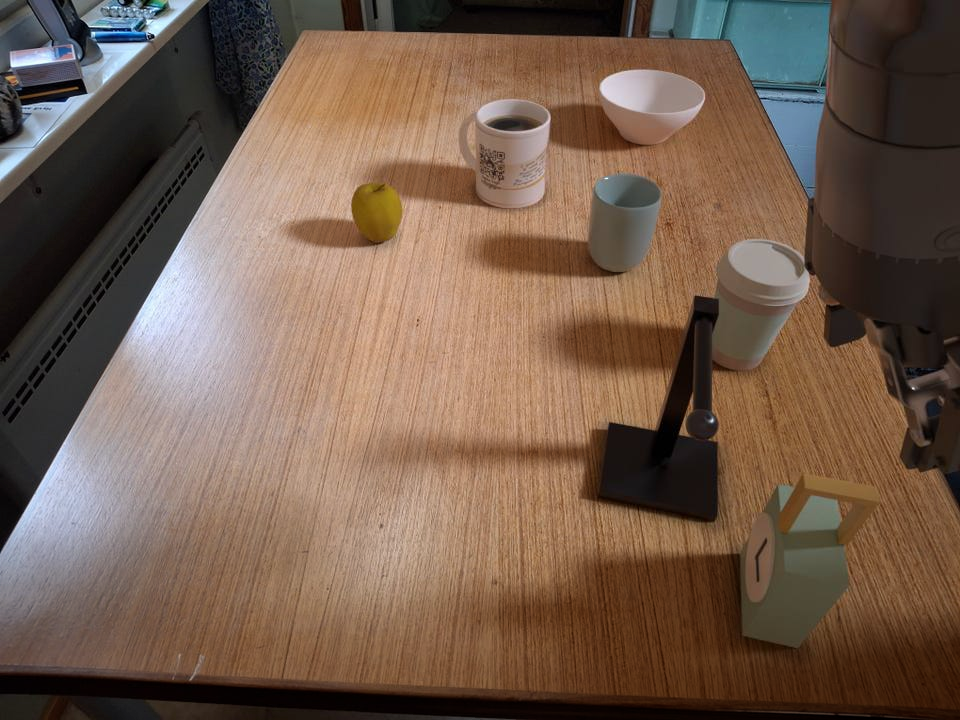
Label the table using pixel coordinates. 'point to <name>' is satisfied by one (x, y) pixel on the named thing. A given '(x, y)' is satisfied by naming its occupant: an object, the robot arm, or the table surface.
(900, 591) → the table surface
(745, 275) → the coffee cup
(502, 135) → the mug
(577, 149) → the table surface
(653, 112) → the bowl
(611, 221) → the cup
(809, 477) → the green box with handle
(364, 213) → the apple
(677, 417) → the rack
